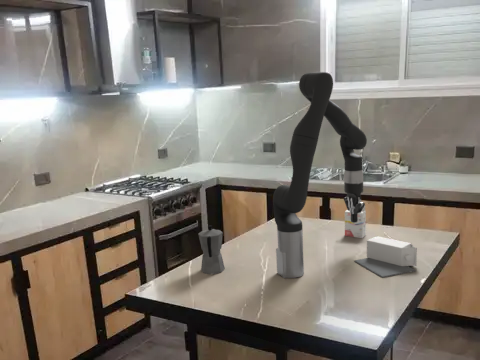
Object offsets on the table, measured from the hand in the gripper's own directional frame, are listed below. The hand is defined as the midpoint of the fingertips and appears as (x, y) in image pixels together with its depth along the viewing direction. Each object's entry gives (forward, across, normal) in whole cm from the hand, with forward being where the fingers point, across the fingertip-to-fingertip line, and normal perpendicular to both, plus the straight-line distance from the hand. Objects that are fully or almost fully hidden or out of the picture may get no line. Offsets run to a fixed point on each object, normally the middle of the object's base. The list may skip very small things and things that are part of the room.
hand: (354, 221), depth 194 cm
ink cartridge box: (+12, -17, +10) cm, 23 cm away
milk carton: (+8, +9, +2) cm, 12 cm away
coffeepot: (+12, -4, -60) cm, 62 cm away
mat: (+12, +20, 0) cm, 24 cm away
